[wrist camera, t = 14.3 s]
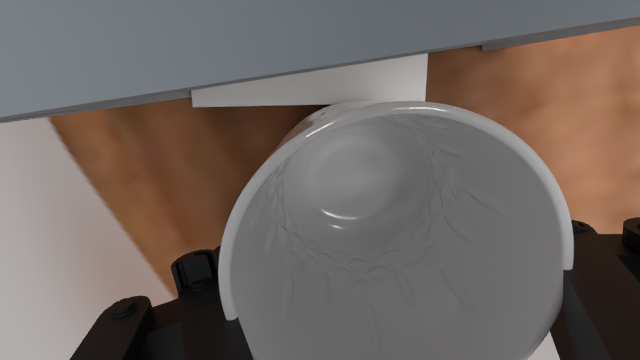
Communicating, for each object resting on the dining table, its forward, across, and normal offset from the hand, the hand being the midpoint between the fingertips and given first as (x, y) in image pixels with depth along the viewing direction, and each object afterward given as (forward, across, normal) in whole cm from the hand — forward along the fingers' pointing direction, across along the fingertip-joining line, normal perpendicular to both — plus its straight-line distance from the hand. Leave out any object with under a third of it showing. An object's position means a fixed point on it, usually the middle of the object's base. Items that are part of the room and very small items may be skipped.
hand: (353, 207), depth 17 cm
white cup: (+1, 0, +2) cm, 2 cm away
